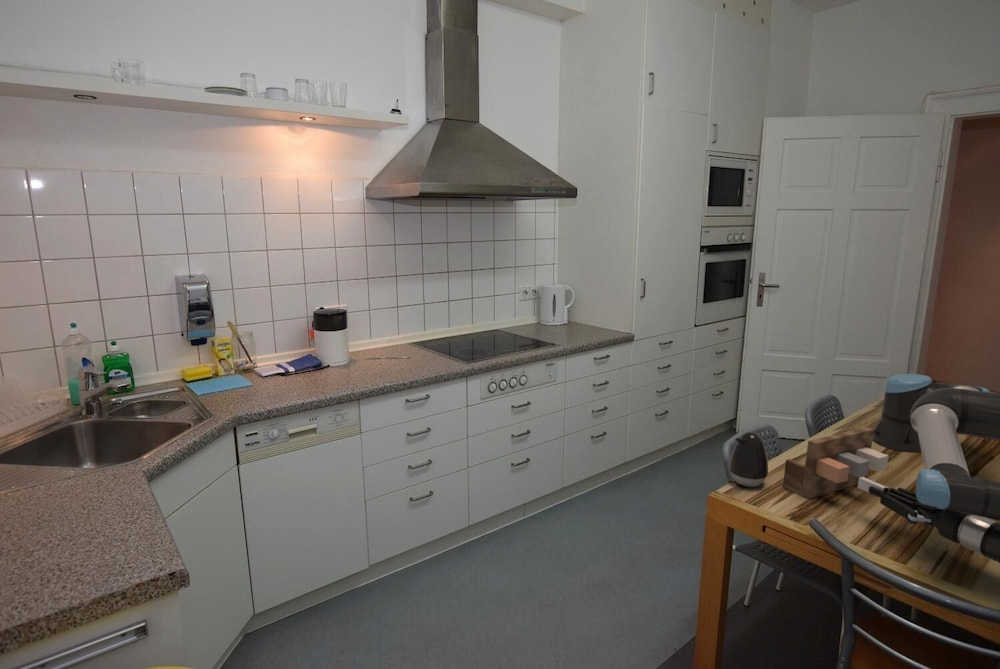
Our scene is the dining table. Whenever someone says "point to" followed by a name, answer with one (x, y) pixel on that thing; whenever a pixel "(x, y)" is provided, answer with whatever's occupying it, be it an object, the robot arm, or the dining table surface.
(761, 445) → the black penguin figurine
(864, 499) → the dining table surface
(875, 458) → the key ivory
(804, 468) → the key board
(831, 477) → the key terracotta
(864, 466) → the key slate
